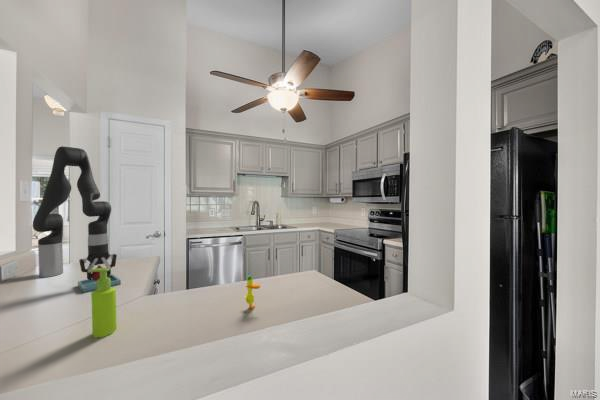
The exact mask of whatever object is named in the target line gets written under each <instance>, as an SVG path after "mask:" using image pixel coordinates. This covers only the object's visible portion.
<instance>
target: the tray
mask: <svg viewBox="0 0 600 400" xmlns="http://www.w3.org/2000/svg"><path fill="white" fill-rule="evenodd" d="M108 278H110V282H111V287H115V286H120V285H121V284H122V280H121V279H120V278H119V277H117V276H116V275H115V274H112V273H111V274H110V275H109V276H108ZM77 287H78V288H79V289H80V290H81V292H82V294H87V293H90V292H91V293H92V292H93V291H96V290H97V281H95V280H93V279H92V280H89V279H87V278H86V279H83V280H78V281H77Z"/></svg>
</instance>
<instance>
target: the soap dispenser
mask: <svg viewBox="0 0 600 400" xmlns="http://www.w3.org/2000/svg"><path fill="white" fill-rule="evenodd" d="M96 268H97V267H96ZM96 268H94V269H93V268H92V270H90V271H88V273H90V272H91V273H92V272H100V279H99V280H97V290H95V291H91V323H92V325H91V327H92V329H91V330H92V337H93V338H95V339H97V338H98V337H100V338H105V337H107V335H108V336H110V335H112V334H114V333H115V332H116V331H117V330H118V329H117V328H118V327H117V291H116V290H117V289H116V287H115V286H112V287H111V282H110V278H108V277H107V271H109V270H110V268H107V267H102V268H97V269H96ZM116 329H117V330H116ZM115 330H116V331H115ZM114 331H115V332H114ZM113 332H114V333H113ZM111 333H112V334H111ZM109 334H110V335H109ZM104 336H105V337H104ZM98 339H99V338H98Z"/></svg>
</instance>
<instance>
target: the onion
mask: <svg viewBox="0 0 600 400" xmlns="http://www.w3.org/2000/svg"><path fill="white" fill-rule="evenodd" d="M97 268H103V267H102V266H101V264H98V265H97V267H96V268H95V269H97ZM91 275H92V279H93V280H95V281H97V280H99V279H100V272H91Z"/></svg>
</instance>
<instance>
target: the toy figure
mask: <svg viewBox="0 0 600 400" xmlns="http://www.w3.org/2000/svg"><path fill="white" fill-rule="evenodd" d="M246 277H247V278H246V285H245V288H247V295H243V297H244V298H245V302H246V303H247V304H248V305H249V306H248V309H249V308H251V309H250V310H253V309H255V308H256V306H255V305H254V304H253V303H254V302H255V296H254V293H253V290H258V289H261V284H257V283H253V282H254V281H253V277H252V275H247V276H246Z"/></svg>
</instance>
